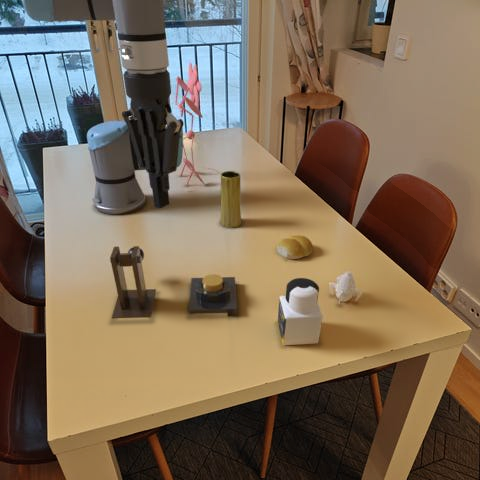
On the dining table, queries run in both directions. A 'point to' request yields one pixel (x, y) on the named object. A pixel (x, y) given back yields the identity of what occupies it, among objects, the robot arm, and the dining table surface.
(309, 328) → the medicine bottle
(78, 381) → the dining table surface
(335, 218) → the dining table surface
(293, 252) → the bread roll
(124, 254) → the flush lever
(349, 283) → the rocket toy
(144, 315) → the lever bracket
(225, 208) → the vase
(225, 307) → the button base
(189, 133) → the figurine
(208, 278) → the tan short cylinder
